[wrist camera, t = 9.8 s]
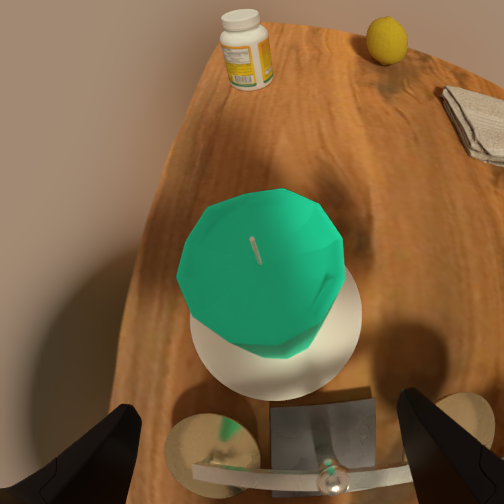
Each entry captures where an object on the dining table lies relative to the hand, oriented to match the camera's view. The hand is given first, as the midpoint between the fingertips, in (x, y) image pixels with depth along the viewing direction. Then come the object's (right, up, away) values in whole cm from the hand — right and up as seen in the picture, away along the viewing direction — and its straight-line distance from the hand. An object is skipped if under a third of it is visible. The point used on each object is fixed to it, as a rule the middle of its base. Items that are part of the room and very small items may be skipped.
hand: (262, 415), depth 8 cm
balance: (+4, -8, +8) cm, 12 cm away
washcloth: (+31, +20, +17) cm, 41 cm away
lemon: (+17, +30, +23) cm, 42 cm away
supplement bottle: (0, +26, +24) cm, 35 cm away
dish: (+1, +1, +12) cm, 12 cm away
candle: (+1, +1, +12) cm, 12 cm away
